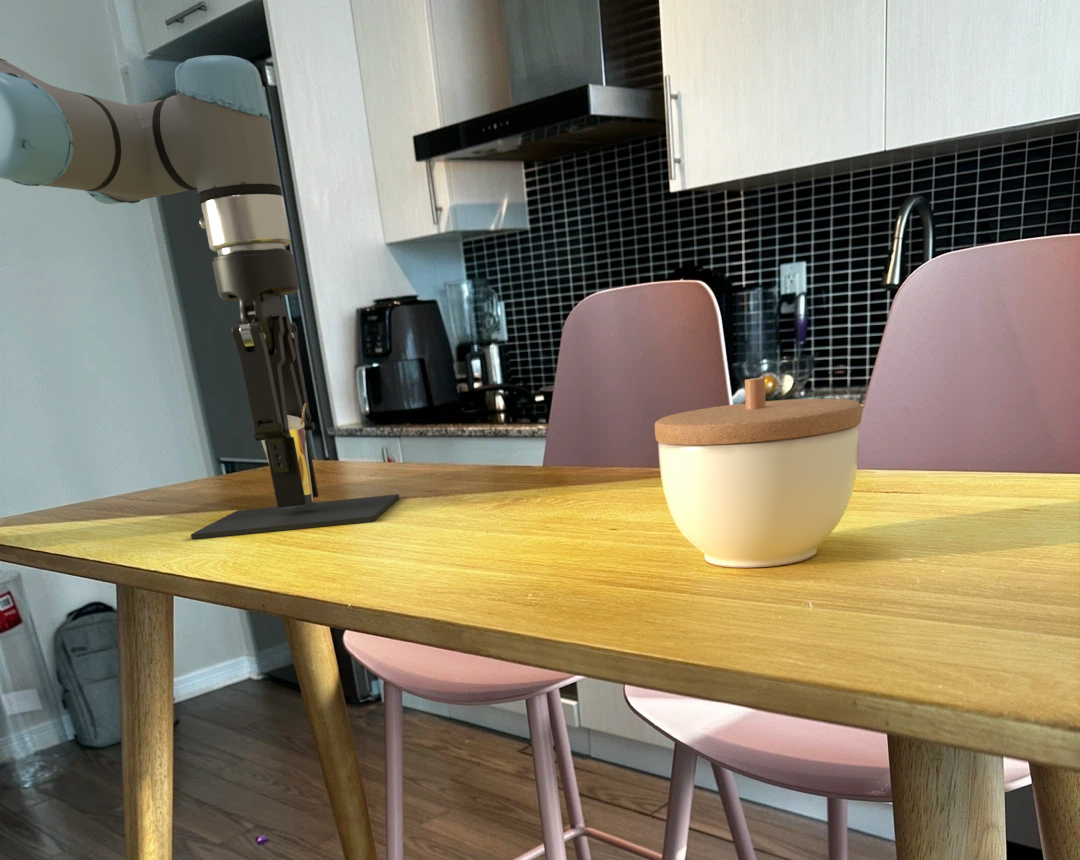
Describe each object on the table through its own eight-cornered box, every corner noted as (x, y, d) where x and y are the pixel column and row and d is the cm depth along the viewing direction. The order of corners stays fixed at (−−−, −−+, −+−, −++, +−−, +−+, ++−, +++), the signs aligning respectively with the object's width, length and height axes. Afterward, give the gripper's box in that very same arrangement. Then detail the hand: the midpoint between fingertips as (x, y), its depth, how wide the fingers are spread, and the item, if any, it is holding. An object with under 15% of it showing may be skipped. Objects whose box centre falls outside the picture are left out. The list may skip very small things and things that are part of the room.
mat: (191, 539, 99) (190, 534, 99) (238, 514, 112) (237, 510, 112) (373, 521, 98) (372, 516, 98) (399, 498, 111) (398, 494, 111)
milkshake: (315, 510, 102) (294, 406, 98) (267, 513, 104) (245, 411, 100) (334, 500, 106) (315, 400, 102) (288, 503, 108) (267, 405, 104)
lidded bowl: (794, 586, 59) (790, 385, 55) (624, 569, 67) (611, 395, 64) (896, 540, 67) (899, 362, 63) (733, 530, 76) (727, 373, 72)
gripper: (242, 262, 105) (286, 492, 113) (178, 250, 89) (235, 520, 97) (314, 253, 104) (353, 485, 112) (262, 239, 88) (312, 512, 96)
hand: (298, 501), depth 105 cm, fingers closed on milkshake, 4 cm apart
